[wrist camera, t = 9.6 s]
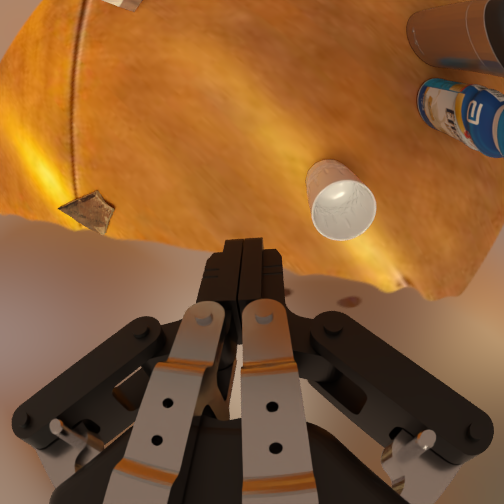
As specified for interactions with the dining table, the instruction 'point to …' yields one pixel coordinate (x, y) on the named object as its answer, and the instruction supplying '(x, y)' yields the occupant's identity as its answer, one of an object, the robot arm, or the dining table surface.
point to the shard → (90, 212)
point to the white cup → (339, 201)
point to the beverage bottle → (465, 113)
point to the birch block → (126, 4)
